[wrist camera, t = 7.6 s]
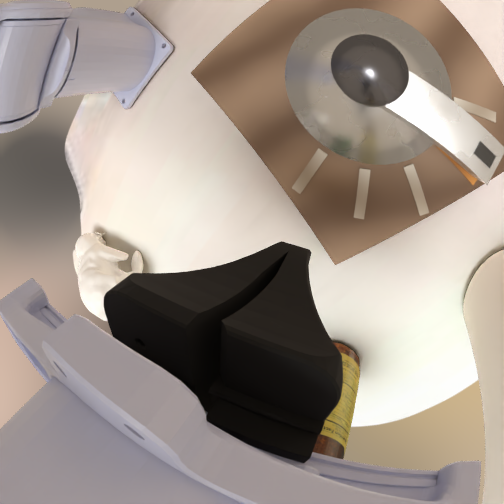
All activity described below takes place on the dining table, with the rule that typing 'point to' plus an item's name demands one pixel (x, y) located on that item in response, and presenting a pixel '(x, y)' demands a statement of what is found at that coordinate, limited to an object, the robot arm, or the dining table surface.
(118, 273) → the white lumpy piece
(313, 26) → the dial
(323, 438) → the sauce bottle
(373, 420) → the dining table surface
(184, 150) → the dining table surface
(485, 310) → the white bottle
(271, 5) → the dial plate
